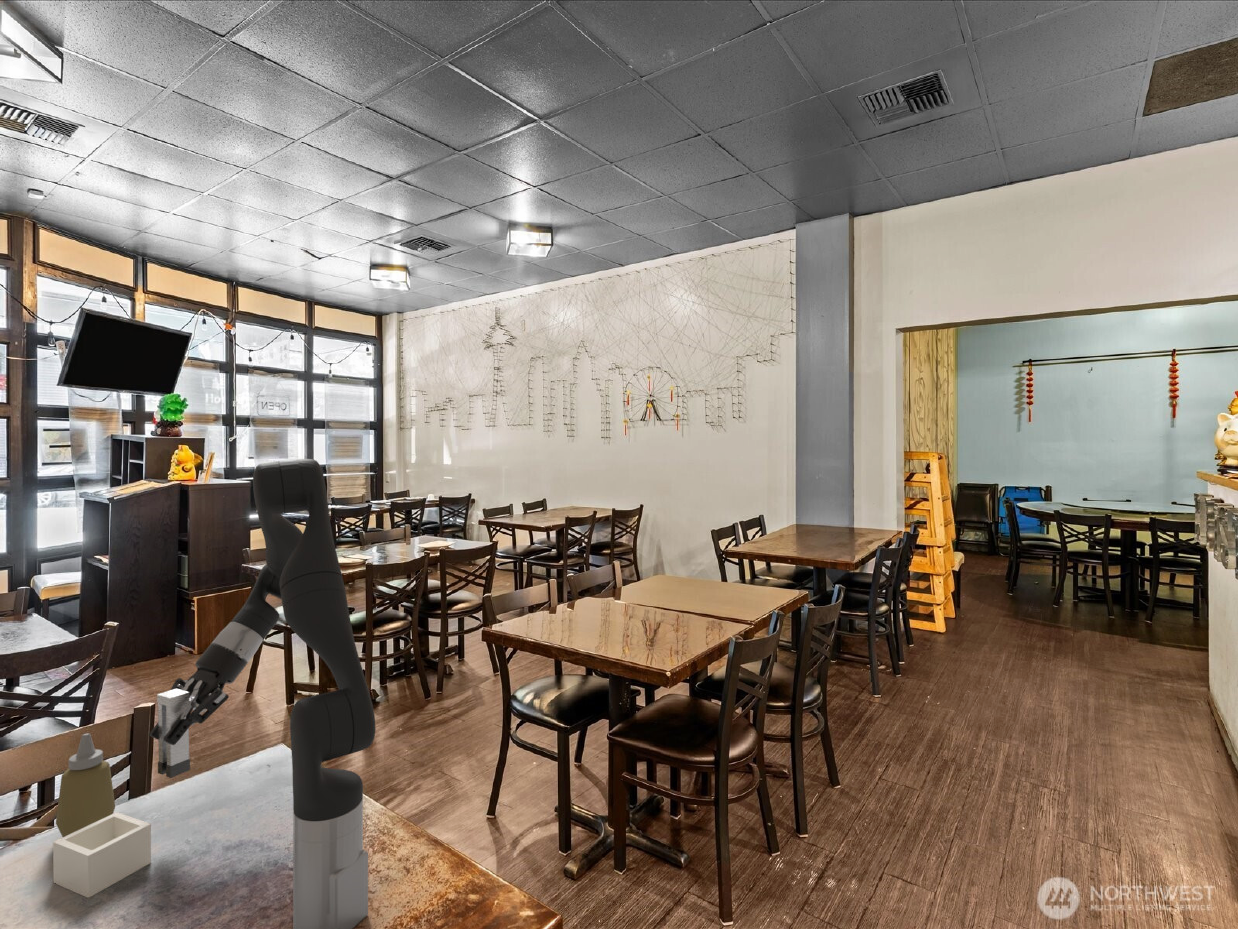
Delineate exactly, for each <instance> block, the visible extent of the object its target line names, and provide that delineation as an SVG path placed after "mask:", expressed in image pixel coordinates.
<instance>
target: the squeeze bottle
mask: <svg viewBox="0 0 1238 929" xmlns="http://www.w3.org/2000/svg"><path fill="white" fill-rule="evenodd" d="M58 794H59V796H58V802H57V811H56V817H55V818H56V819H55V824H56V827H57V828H58V831H59V832H60V834H61V837H62V838H63V837H65V836H67V835H69V834H71V833H73V832H76V831H78V830H80V829H82V828H84V827H86V826H88V825H90V824H93V823H95V822H97V821H99V820H101V819H103V818H105V817H107V816H110V815H112V814H114V811H115V809H116V802H115V801H116V800H115V795H114V794H115V793H114V787H113V779H112V772H111V766H110V763H109V762H108V761H106V760H104V751H103V750H102V749H98V748H97V749H96V748H95V746H94V742H93V739H92V735H91V733H84V734H82V735H81V737H80V741H79V745H78V748H77V751H76V754H73V755H71V756H70V757H69V759H68V768H67V769H66V770H65V771H64V772H63V773H62V775H61V779H60V788H59V793H58Z"/></svg>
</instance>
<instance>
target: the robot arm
mask: <svg viewBox="0 0 1238 929" xmlns="http://www.w3.org/2000/svg"><path fill="white" fill-rule="evenodd" d="M252 487H253V488H252V490H253V498H254V503H255V508H256V511H257V516H258V522H259V525H260V529H261V532H262V536H263V538H264V544H265V560H266V561H265V564H264V565H263V566H262V568H261V569H260V571H259V573H258V576H257V578H256V580H255V584H254V585H253V587H252V590H251V592H250V594H249V596H248V598H247V599H246V601H245V603H244V605H243V606H242V607H240V608H241V609H239V611H238V612H237V613H236V615H235V616H234V617H233V619H231V620H230V622H229V623H228V624H227V625H226V626H225V627H224V628H223V629H222V630H220V632H219V633H218V634H217V636H216V637H215V638H214V639H213V641H212V642H211V643H210V645H208V647H207V648H206V649H205V650H204V652H203V653H202V654H201V655H200V657H199V658H198V659H197V660H196V661H195V667H196V669H197V670H196V671H195V672H194V673H193V674H192V675H191V676H189V678H188V679H185V680H184V679H183V678H180V677H178V678H177V679H175V681H174V682H173V685H172V686H171V688H170V690H173V689H180V690H183V691H187V692H189V702H188V703H187V708H186V710H185V711H184V712H183V714H182V716H181V720H179V719H178V721H177V722H176V723H175V724H174V726H173V727H172V728H171V730H170V731H169V732H168V733H167V734H166V736H165V737H164V741H165V742H167V743H169V744H171V745H175V744H176V743H177V742H178V741H179V740H180V738H181V737H182V736H183V734H184V733H185V732H186V731H187V729H188V728H189V729H190V727H191V726H194V725H195V724H196V723H198V724H201V725H202V724H203V723H204V722H205V721H206V720H207V719H208V718H210V717H211V715H213V714H214V713H215V712H216V711H217V710H218V709H219V708H220V707H221V706H222V705H223V704H224V703H225V702H226V701H228V699H229V694H227V693H226V692H225V691H223V690H224V688H225V685H226V684H229V685H230V684H233V683H234V682H235V680H236V679H237V678H238V677H239V675H240V674H241V673H242V671H243V670H244V669H245V668H246V666H247V665H248V663H249V662H250V661H251V660H252V658H253V657H254V655H255V654H256V652H257V651H258V650H259V647H260V646H261V644H262V643H263V642H264V640H265V639H266V637H267V636H268V635H269V633H270V632H271V630H273V628H274V627H275V625H276V624H277V623H278V621H279V620H280V613H279V611H278V610H277V609H276V608H275V607H274V606H272V605H271V604H270V603H269V602H268V601H267V597H268V595H271V596H274V597H276V598H278V599H280V600H281V605H282V610H283V615H284V616H283V617H284V619H285V621H286V623H287V625H288V627H289V628H290V629H291V630H292V631H293V632H294V633H295V634H296V636H298V638H300V640H302V641H303V642H304V644H306V645H307V646H308V647H309V648H311V649H312V650H313V651H314V652H315V653H316V654H317V655H318V656H319V657H320V659H322V660H323V662H324V663H325V664H326V666H327V667H328V669H329V670H330V672H331V674H332V676H333V678H334V680H335V683H336V686H337V688H338V689H337V690H333V691H328V692H324V693H320V694H316V695H315V694H314V695H311V696H307V697H303V698H300V699H298V700H297V701H296V702H295V703H294V705H293V707H292V709H291V714H290V720H289V721H290V722H289V732H290V735H289V736H290V747H291V750H290V751H291V763H292V764H291V765H292V766H291V767H292V796H293V797H292V799H293V801H292V802H293V803H292V806H293V807H292V808H293V809H292V810H293V815H292V816H293V820H292V821H293V823H292V825H293V828H292V829H293V833H292V838H293V839H292V840H293V841H292V842H293V843H292V846H293V847H292V850H293V851H292V852H293V853H292V854H293V855H292V857H293V859H292V866H293V867H292V868H293V869H292V877H293V878H292V887H293V888H292V906H293V909H292V912H293V913H292V923H293V924H292V925H293V926H292V929H354V928H355V927H356V926H357V925H358V924H359V923H360V922H361V921H363V920H364V919H365V918H366V917H367V916H368V915H369V853H368V851H367V850H364V849H363V846H364V845H363V842H364V841H363V839H364V837H363V836H364V835H363V834H364V833H363V832H364V830H363V826H364V823H363V820H364V818H363V817H364V814H363V812H364V809H363V808H364V799H363V798H364V784H363V780H362V777H361V776H360V775H359V774H358V773H357V772H354V771H352V770H348V769H343V768H342V769H341V768H329V767H323V766H322V763H324V762H327V761H331V760H334V759H337V758H342V757H344V756H345V757H346V756H348V755H351V754H355V753H359V752H361V751H364V750H365V749H369V748H370V747H371V746H372V744H373V742H374V740H375V737H376V731H377V730H376V728H377V727H376V717H375V711H374V705H373V701H372V697H371V695H370V690H369V687H368V683H367V681H366V677H365V674H364V673H365V672H364V670H363V667H362V664H361V661H360V657H359V654H358V650H357V646H356V642H355V637H354V632H353V631H354V630H353V628H352V627H353V626H352V622H351V616H350V610H349V604H348V598H347V594H346V592H347V591H346V587H345V584H344V579H343V575H342V570H341V566H340V562H339V558H338V553H337V550H336V544H335V541H334V536H333V531H332V525H331V516H330V511H329V510H330V509H329V503H328V495H327V494H328V493H327V487H326V481H325V476H324V473H323V469H322V466H321V465H320V463H319V462H318V460H316V459H313V458H298V459H290V460H287V459H286V460H279V461H275V460H274V461H266V462H262V463H260V464H258V465H257V466H255V468H254V470H253V475H252ZM298 512H299V513H300V512H308V518H307V521H306V525H305V528H304V530H303V531H302V530H301V529H300V528H299V527H298V526H297V525H296V524H294V522H292V521H290V520H289V519H287V518H286V517H285V516H283V514H290V513H298ZM149 736H150V737H152V738H153V739H155V740H159V726H158V722H157V723H156V725H155V726H154V727H153V728H152V729H151V731H150V732H149Z"/></svg>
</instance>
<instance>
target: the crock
mask: <svg viewBox="0 0 1238 929" xmlns="http://www.w3.org/2000/svg"><path fill="white" fill-rule="evenodd" d="M52 843H53V844H52V847H53V848H52V850H53V852H52V853H53V854H52V855H53V858H52V859H53V862H52V863H53V864H52V865H53V866H52V867H53V869H52V870H53V876H52V877H53V883H54V884H55V883H56V884H55V885H58V886H60V887H62V888H64V889H67V890H69V891H71V892H74V893H76V894H78V895H81V896H83V897H85V898H88V899H89V898H91V897H92V896H95V895H96V894H98V893H100V892H101V891H103V890H105V889H107V888H109V887H111V886H113V885H114V884H116V883H118V882H119V881H121V880H123V879H125V878H126V877H128V876H130V875H132V874H134V873H135V872H137V871H139V870H141V869H143V868H144V867H146V866H147V865H149V864H151V863H152V824H151V823H149V822H147V821H143V820H141V819H138V818H135V817H132V816H129V815H126V814H123V813H120V812H118V811H117V812H115V813H114V812H113V814H112V815H110V816H107V817H105V818H103V819H101V820H99V821H97V822H95V823H93V824H90V825H88V826H86V827H84V828H82V829H80V830H78V831H76V832H73V833H71V834H69V835H67V836H65V837H62V838H59V839H56V840H54V841H53V842H52Z"/></svg>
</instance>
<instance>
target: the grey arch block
mask: <svg viewBox="0 0 1238 929" xmlns="http://www.w3.org/2000/svg"><path fill="white" fill-rule="evenodd" d="M188 702H189V692H187V691H183V690H180V689H173V690H171V689H170V690H167V691H164V692H161V693H158V694H156V703H157V717H158V718H157V720H158V721H157V723H158V726H159V740H158V739H157V740H158V761H157V773H158V774H159V775H163V776H164V775H165V777H167V778H168V779H172V778H174V777H176V776H179V775H182V774H184V773H186V772H188V771H191V758H190V730H189V729H190V727H189V728H188V729H187V731H186V732H185V733H184V734H183V736H182V737H181V738H180V740H179V741H178V742H177V743H176V744H175V745H171V744H169V743H167V742H165V741H164V737H165V736H166V734H167V733H168V732H169V731H170V730H171V728H172V727H173V726H174V724H175V723H176V722H177V721H178V719H179V720H181V716H182V714H183V712H184V711H185V710H186V708H187V703H188Z"/></svg>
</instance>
